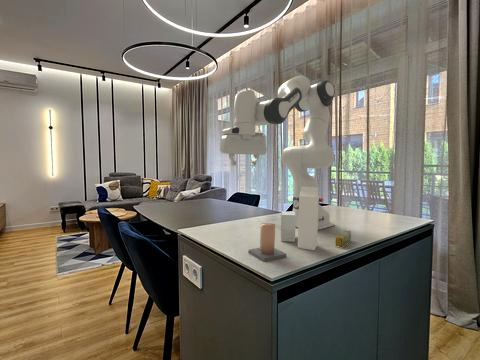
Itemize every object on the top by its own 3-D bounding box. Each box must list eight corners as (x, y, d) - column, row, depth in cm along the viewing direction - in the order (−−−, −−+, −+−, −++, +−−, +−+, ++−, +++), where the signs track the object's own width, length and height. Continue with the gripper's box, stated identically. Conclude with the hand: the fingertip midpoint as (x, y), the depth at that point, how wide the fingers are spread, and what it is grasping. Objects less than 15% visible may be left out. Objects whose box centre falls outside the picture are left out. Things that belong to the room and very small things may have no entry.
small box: (295, 242, 101) (295, 215, 100) (280, 241, 102) (281, 214, 101) (294, 236, 109) (295, 211, 108) (281, 235, 110) (281, 210, 109)
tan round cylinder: (268, 248, 90) (269, 222, 90) (277, 252, 86) (278, 225, 86) (257, 250, 88) (257, 223, 87) (265, 254, 84) (266, 226, 83)
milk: (314, 250, 92) (316, 188, 90) (297, 248, 94) (299, 187, 93) (317, 245, 97) (319, 186, 96) (300, 243, 100) (302, 185, 98)
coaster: (270, 248, 93) (270, 245, 93) (286, 256, 85) (286, 253, 85) (248, 252, 89) (248, 249, 89) (263, 261, 81) (263, 258, 81)
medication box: (344, 239, 106) (344, 230, 106) (351, 240, 105) (351, 231, 104) (335, 247, 96) (335, 236, 96) (342, 248, 95) (343, 237, 95)
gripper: (261, 133, 114) (260, 165, 115) (218, 130, 104) (218, 165, 105) (270, 132, 108) (269, 165, 109) (225, 128, 98) (225, 165, 99)
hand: (243, 165), depth 107 cm, fingers open, 8 cm apart
